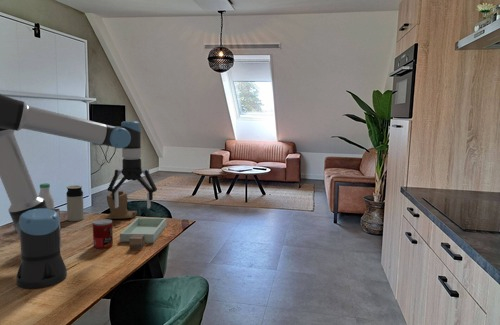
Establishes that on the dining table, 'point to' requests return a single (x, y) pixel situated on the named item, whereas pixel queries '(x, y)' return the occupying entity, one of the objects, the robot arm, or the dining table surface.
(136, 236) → the walnut cube
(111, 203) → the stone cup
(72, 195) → the travel mug
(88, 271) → the dining table surface
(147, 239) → the tray
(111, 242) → the canned food
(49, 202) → the milk bottle
